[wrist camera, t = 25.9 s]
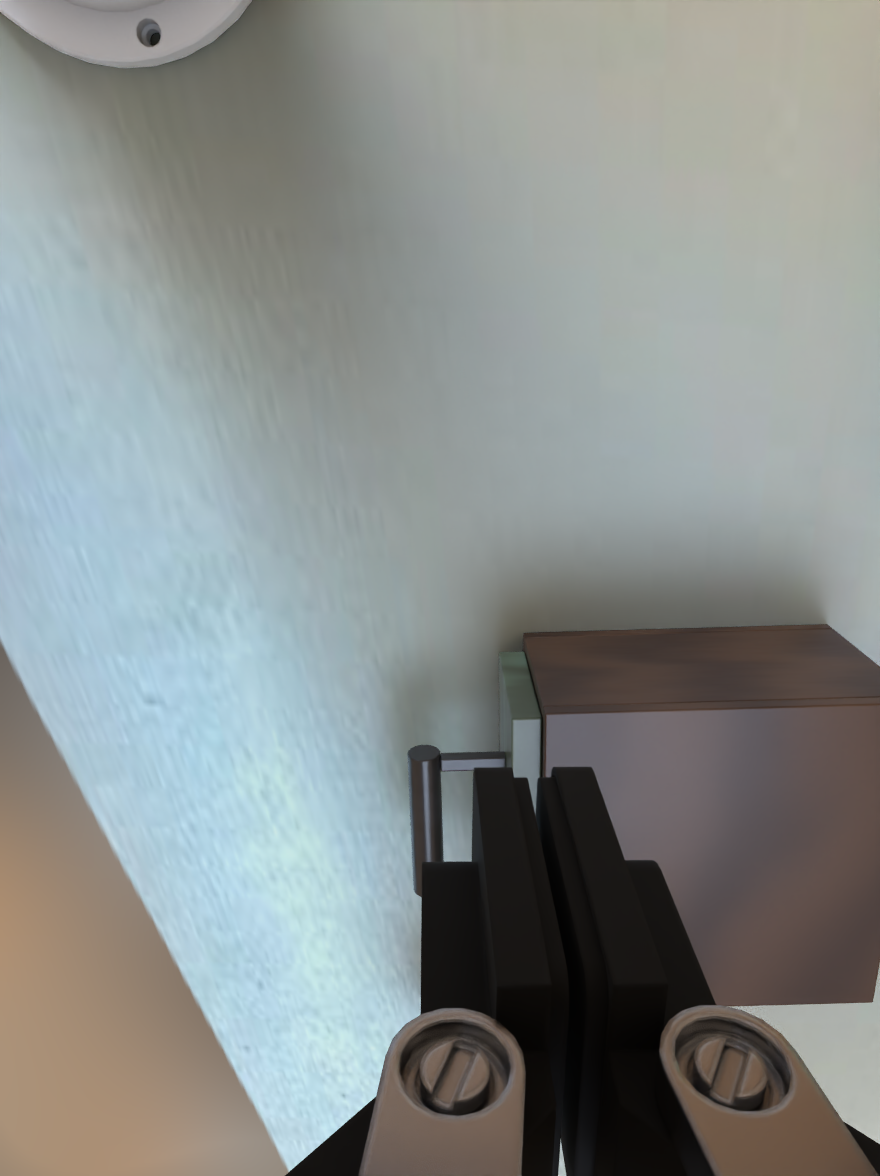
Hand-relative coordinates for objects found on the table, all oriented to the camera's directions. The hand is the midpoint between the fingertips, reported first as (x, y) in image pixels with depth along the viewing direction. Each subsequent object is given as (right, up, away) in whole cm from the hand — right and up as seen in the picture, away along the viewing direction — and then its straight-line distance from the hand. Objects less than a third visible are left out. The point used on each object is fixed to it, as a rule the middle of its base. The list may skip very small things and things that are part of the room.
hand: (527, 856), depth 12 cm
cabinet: (+10, -5, +29) cm, 31 cm away
